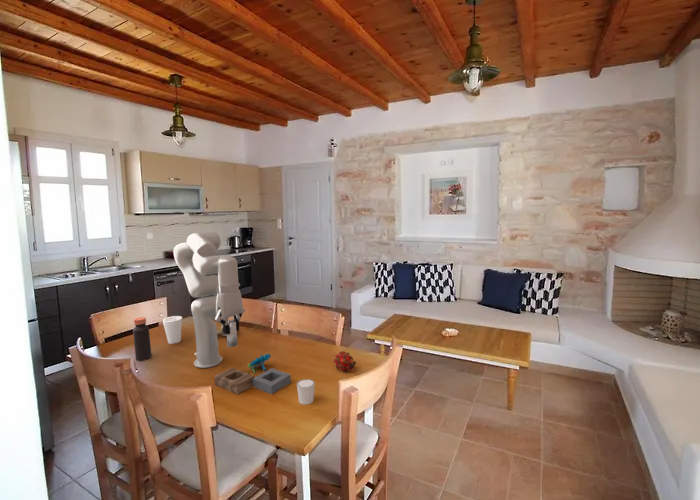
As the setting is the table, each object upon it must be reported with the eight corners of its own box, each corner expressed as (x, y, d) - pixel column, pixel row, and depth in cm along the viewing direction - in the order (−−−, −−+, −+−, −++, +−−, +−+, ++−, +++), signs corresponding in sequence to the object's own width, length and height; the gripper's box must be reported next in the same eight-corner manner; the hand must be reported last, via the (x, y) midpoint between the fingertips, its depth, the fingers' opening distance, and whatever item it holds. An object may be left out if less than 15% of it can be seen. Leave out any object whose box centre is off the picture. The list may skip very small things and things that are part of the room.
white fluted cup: (315, 395, 142) (315, 378, 141) (314, 405, 135) (314, 387, 134) (298, 395, 142) (297, 379, 141) (296, 405, 135) (295, 388, 134)
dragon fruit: (337, 366, 170) (353, 380, 160) (325, 361, 164) (341, 374, 155) (347, 350, 171) (363, 363, 162) (336, 344, 165) (351, 357, 156)
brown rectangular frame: (215, 384, 151) (214, 375, 151) (232, 376, 159) (232, 367, 158) (237, 394, 144) (236, 385, 143) (254, 384, 151) (254, 375, 150)
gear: (267, 358, 172) (271, 349, 165) (272, 369, 170) (276, 361, 163) (245, 368, 166) (248, 359, 159) (250, 379, 163) (253, 371, 156)
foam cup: (171, 346, 193) (169, 322, 191) (161, 343, 197) (159, 320, 195) (187, 340, 201) (185, 317, 199) (177, 337, 205) (175, 315, 204)
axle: (225, 345, 148) (223, 322, 147) (233, 342, 152) (231, 319, 150) (231, 347, 146) (230, 324, 145) (239, 344, 149) (238, 321, 148)
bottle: (132, 359, 177) (128, 319, 175) (146, 354, 183) (142, 315, 180) (141, 361, 174) (137, 321, 171) (154, 356, 180) (151, 317, 177)
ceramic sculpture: (241, 316, 212) (229, 326, 198) (242, 330, 214) (230, 341, 200) (223, 316, 214) (210, 326, 199) (225, 330, 216) (212, 341, 201)
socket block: (252, 386, 149) (252, 378, 149) (272, 375, 158) (271, 368, 158) (271, 394, 143) (271, 385, 143) (290, 382, 152) (290, 374, 152)
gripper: (239, 283, 154) (241, 324, 157) (204, 291, 141) (207, 336, 143) (251, 285, 150) (253, 327, 153) (216, 294, 137) (219, 340, 139)
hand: (231, 331), depth 148 cm, fingers closed on axle, 4 cm apart
